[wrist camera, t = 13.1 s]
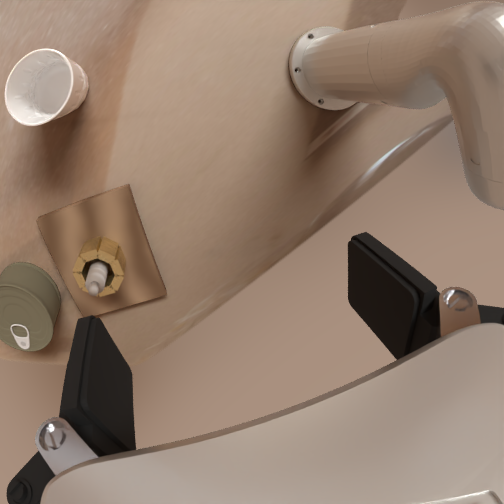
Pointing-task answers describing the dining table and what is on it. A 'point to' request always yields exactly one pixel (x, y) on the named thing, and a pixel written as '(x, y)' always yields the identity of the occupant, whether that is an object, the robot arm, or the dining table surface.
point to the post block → (69, 246)
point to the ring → (105, 252)
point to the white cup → (44, 87)
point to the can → (27, 306)
